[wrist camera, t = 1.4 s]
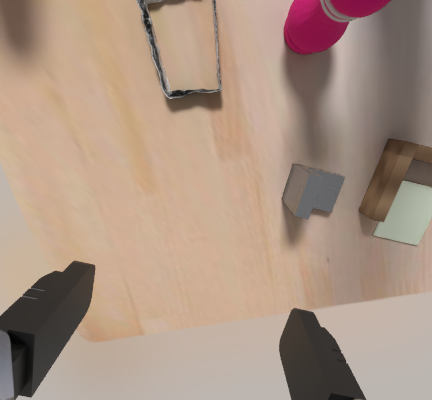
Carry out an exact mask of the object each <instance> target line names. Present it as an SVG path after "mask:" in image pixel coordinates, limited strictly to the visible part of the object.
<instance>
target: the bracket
mask: <svg viewBox="0 0 432 400" xmlns="http://www.w3.org/2000/svg"><path fill="white" fill-rule="evenodd" d="M344 178H345V177H344V176H342V175H340V174H336V173H331V172H327V171H323V170H319V169H315V168H311V167H307V166H303V165H299V164H294V163H293V165H292V168H291V171H290V174H289V177H288V180H287V183H286V186H285V189H284V192H283V196H282V200H283V201H284V203H285V204H286V205H287V207H288V208H289V209H290V211H291V212H292V213H293V215H294V216H297V217H301V218H305V219H309V217H310V214H311V211H312V208H314V209H318V210H323V211H327V212H332V209H333V207H334V204H335V202H336V199H337V196H338V194H339V191H340V189H341V186H342V184H343V181H344Z"/></svg>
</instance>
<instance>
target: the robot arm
mask: <svg viewBox="0 0 432 400" xmlns="http://www.w3.org/2000/svg"><path fill="white" fill-rule="evenodd" d="M94 275H95V265H93V264H88V263H84V262H79V261H73V262H72V263H71V264H70V265H69V266H68V267H67V268H66V269H65V270H64V271H63V272H59V271H54V272H52V273H50V274H47V275H45V276H43V277H42V278H40V279H39V280H38V281H37V282H36V283H35V284H34V285H33V286H32V287H31V289H28V290H27V291H26V292H25V294H23V296H22V297H20V298H19V299H18V300H17V301H16V302H15V303H14V304H13V305H11V306H10V307H9V308H8V310H6V311H5V312H4V313H3V314H2V315H1V316H0V400H15V399H16V398H17V397H18V395H21V396H26V397H32V396H33V394H34V393H35V391H36V389H37V388H38V386H39V385H40V383H41V382H42V380H43V379H44V377H45V376H46V374H47V373H48V371H49V370H50V368H51V367H52V365H53V364H54V362H55V360H56V359H57V357H58V356H59V354H60V353H61V351H62V350H63V348H64V347H65V345H66V343H67V342H68V341H69V339H70V337H71V336H72V334H73V333H74V331H75V330H76V328H77V327H78V325H79V324H80V322H81V321H82V319H83V317H84V316H85V314H86V312H87V310H88V308H89V305H90V302H91V298H92V291H93V283H94ZM279 352H280V357H281V361H282V365H283V368H284V372H285V376H286V380H287V384H288V388H289V392H290V396H291V400H366V398H365V396H364V394H363V392H362V391H361V389H360V387H359V385H358V383H357V381H356V379H355V377H354V375H353V373H352V371H351V369H350V367H349V366H348V364H347V363H346V360H345V358H344V356H343V354H342V353H341V350H340V348H339V346H338V344H337V342H336V340H335V339H334V338H333V337H332V335H331V334H330V333H329V332H328V331H327V330H326V329H325V328H323V327H321V326H320V324H319V322H318V320H317V318H316V316H315V314H314V313H313V312H310V311H306V310H301V309H296V308H294V309H292V311H291V313H290V315H289V318H288V320H287V323H286V326H285V328H284V331H283V333H282V336H281V339H280V345H279Z"/></svg>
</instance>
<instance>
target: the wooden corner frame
mask: <svg viewBox="0 0 432 400" xmlns="http://www.w3.org/2000/svg"><path fill="white" fill-rule="evenodd" d="M412 159H415V160H419V161H423V162H427V163H431V164H432V148H430V147H427V146H423V145H419V144H415V143H411V142H407V141H401V140H394V139H388V141H387V144H386V146H385V149H384V151H383V153H382V156H381V158H380V161H379V163H378V165H377V168H376V170H375V173H374V175H373V177H372V180H371V182H370V185H369V187H368V189H367V192H366V194H365V197H364V199H363V201H362V204H361V206H360V208H359V211H360V212H361V213H363V214H364V215H366V216H367V217H369V218H370V219H371V220H376V221H380V222H384V221H385V219H386V216H387V214H388V212H389V210H390V208H391V205H392V203H393V201H394V199H395V197H396V194H397V192H398V190H399V188H400V185H401V183H402V181H403V179H404V177H405V174H406V172H407V170H408V168H409V166H410V163H411V161H412Z"/></svg>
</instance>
